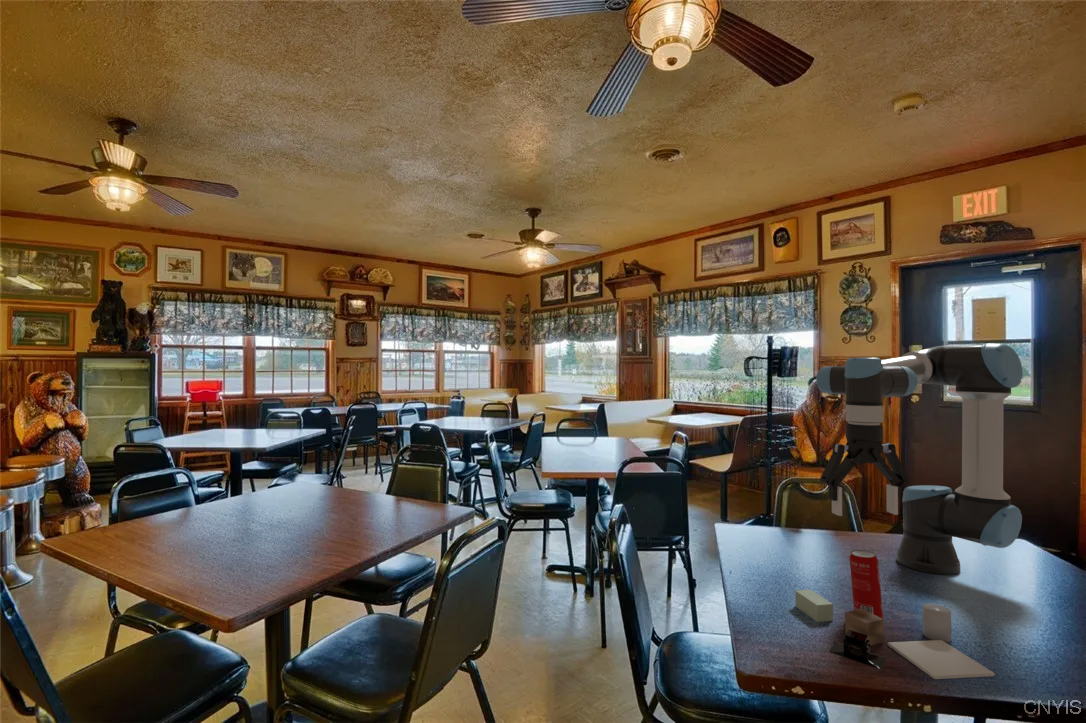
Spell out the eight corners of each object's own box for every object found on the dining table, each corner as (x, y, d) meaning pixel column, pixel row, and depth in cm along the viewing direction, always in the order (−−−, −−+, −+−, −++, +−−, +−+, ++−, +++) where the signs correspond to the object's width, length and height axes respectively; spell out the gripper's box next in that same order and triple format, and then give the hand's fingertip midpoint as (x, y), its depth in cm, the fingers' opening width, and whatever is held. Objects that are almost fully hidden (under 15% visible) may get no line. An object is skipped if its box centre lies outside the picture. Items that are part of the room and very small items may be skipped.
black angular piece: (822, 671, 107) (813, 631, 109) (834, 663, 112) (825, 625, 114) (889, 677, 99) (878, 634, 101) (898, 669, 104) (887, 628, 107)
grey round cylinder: (938, 630, 116) (937, 603, 116) (957, 641, 111) (957, 613, 111) (917, 631, 116) (916, 603, 116) (935, 642, 111) (935, 614, 111)
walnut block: (862, 631, 116) (862, 608, 116) (883, 642, 111) (883, 619, 111) (845, 635, 114) (845, 612, 114) (866, 646, 109) (866, 622, 109)
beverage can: (887, 624, 118) (886, 558, 119) (856, 622, 120) (855, 556, 120) (876, 612, 124) (875, 549, 124) (846, 610, 126) (845, 547, 126)
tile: (941, 642, 111) (941, 639, 111) (994, 676, 99) (994, 673, 99) (887, 645, 110) (887, 642, 110) (934, 679, 98) (934, 676, 98)
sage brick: (810, 605, 128) (810, 589, 129) (833, 621, 121) (832, 604, 121) (795, 607, 128) (795, 590, 128) (817, 622, 120) (817, 605, 120)
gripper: (902, 421, 127) (902, 508, 127) (803, 421, 125) (804, 510, 125) (926, 424, 120) (927, 517, 119) (822, 425, 118) (823, 519, 118)
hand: (864, 513), depth 122 cm, fingers open, 13 cm apart
